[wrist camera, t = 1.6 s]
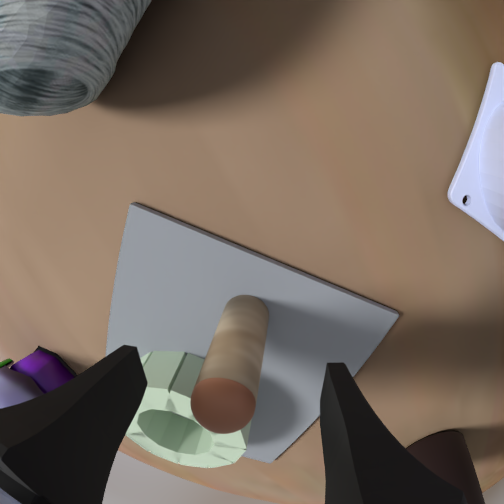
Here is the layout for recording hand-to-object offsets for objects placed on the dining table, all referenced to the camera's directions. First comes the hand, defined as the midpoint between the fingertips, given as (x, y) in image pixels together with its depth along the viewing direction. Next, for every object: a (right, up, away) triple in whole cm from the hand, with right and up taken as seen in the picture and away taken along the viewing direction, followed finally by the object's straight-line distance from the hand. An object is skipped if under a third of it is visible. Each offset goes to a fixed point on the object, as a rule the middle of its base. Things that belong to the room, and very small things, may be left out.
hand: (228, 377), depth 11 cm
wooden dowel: (+1, +2, +4) cm, 4 cm away
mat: (-1, -2, +6) cm, 7 cm away
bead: (-3, -5, +7) cm, 9 cm away
